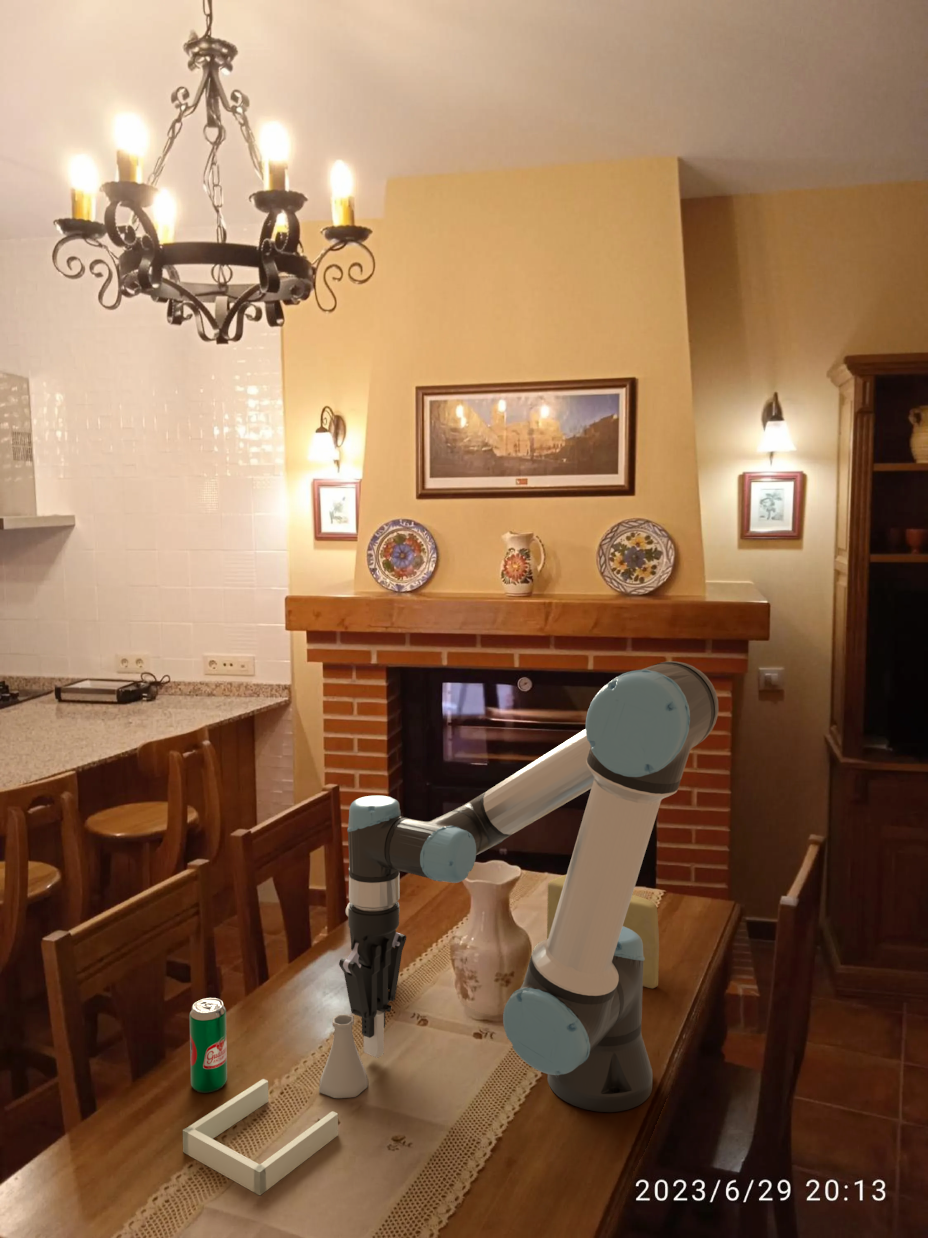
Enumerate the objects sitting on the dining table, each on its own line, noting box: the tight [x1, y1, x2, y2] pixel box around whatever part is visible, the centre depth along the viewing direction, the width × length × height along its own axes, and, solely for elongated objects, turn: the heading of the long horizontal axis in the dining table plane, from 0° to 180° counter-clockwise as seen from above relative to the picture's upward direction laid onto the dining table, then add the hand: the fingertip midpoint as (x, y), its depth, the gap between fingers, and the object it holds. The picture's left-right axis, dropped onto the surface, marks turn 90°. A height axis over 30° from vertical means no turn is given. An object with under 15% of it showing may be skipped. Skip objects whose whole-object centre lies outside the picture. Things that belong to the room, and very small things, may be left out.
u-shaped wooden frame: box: [182, 1078, 339, 1197], centre depth 123 cm, size 14×14×3 cm
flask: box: [318, 1013, 369, 1099], centre depth 136 cm, size 7×7×10 cm
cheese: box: [546, 873, 660, 989], centre depth 174 cm, size 22×10×15 cm, turn 43°
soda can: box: [189, 997, 228, 1094], centre depth 136 cm, size 5×5×12 cm
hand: (373, 1053), depth 142 cm, fingers closed
